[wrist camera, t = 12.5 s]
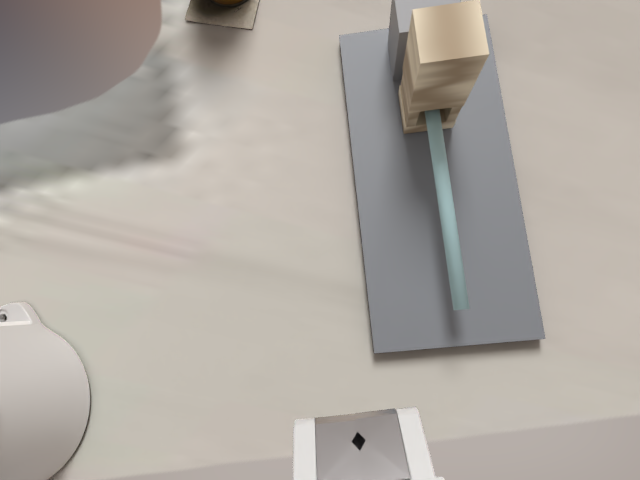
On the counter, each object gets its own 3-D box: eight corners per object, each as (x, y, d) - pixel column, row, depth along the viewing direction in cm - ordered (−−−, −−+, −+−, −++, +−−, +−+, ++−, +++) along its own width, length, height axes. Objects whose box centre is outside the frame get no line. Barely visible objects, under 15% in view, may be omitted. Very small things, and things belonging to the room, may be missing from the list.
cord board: (373, 351, 37) (377, 362, 29) (339, 43, 42) (334, -20, 34) (539, 338, 36) (590, 345, 28) (483, 22, 41) (512, -48, 33)
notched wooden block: (403, 133, 39) (420, 63, 28) (398, 93, 39) (412, 9, 28) (452, 127, 38) (489, 54, 27) (446, 87, 39) (479, -1, 28)
